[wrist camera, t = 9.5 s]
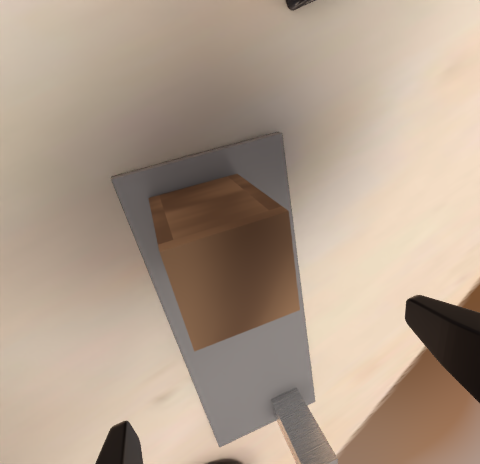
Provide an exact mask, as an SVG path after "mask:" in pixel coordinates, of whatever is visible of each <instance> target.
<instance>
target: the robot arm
mask: <svg viewBox="0 0 480 464" xmlns="http://www.w3.org/2000/svg"><path fill="white" fill-rule="evenodd" d="M405 320H406V322H407V324H408V325H409V327H410V328H411V329H412V330H413V331H414V333H415V334H416V335H417V336H418V337H419V339H420V340H421V341H422V342H423V343H424V345H425V346H426V347H427V348H428V349H429V350H430V352H431V353H432V354H433V355H434V356H435V358H436V359H437V360H438V361H439V362H440V363H441V364H442V366H443V367H444V368H445V369H446V370H447V371H448V372H449V373H450V374H451V375H452V376H453V377H454V378H455V379H456V380H457V381H458V382H459V383H460V384H461V385H462V386H463V387H464V388H465V389H466V390H467V391H468V392H469V393H470V394H471V395H472V396H473V397H474V398H475V399H476V400H477V401H478V402H479V403H480V313H479V312H475V311H472V310H469V309H466V308H462V307H459V306H456V305H452V304H449V303H446V302H442V301H439V300H436V299H432V298H429V297H425V296H422V295H416V296H414V297H411V298H409V299H408V300H407V301H406V310H405ZM95 464H143V459H142V452H141V445H140V441H139V438H138V436H137V434H136V432H135V431H134V429H133V428H132V426H131V424H130V423H129V422H128V421H123V422H121V423H119V424H116V425H114V426H113V427H112V428H111V429H110V431H109V433H108V435H107V438H106V440H105V442H104V445H103V447H102V449H101V452H100V454H99V456H98V459H97V461H96V463H95Z"/></svg>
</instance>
